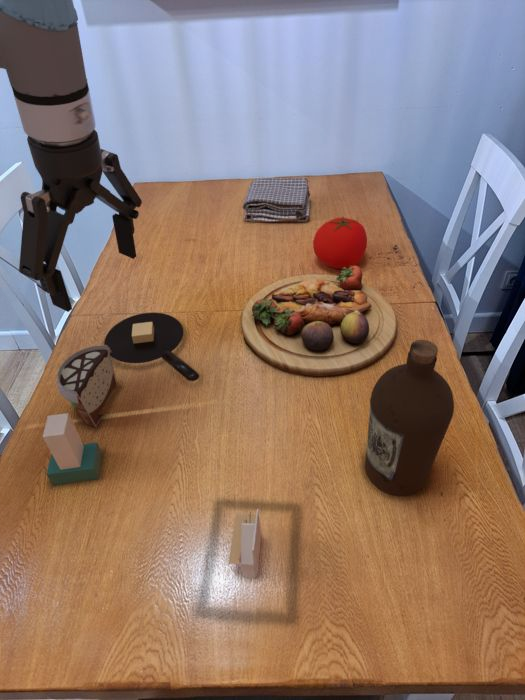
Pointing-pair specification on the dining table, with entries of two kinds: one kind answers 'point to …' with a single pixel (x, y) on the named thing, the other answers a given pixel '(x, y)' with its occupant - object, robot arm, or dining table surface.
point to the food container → (87, 381)
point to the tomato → (340, 242)
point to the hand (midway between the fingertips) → (97, 279)
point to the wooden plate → (319, 323)
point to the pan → (164, 342)
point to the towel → (277, 200)
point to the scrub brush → (69, 452)
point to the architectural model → (246, 544)
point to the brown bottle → (407, 422)
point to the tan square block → (143, 332)
